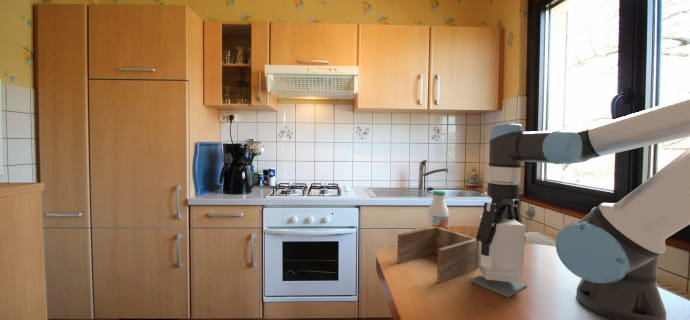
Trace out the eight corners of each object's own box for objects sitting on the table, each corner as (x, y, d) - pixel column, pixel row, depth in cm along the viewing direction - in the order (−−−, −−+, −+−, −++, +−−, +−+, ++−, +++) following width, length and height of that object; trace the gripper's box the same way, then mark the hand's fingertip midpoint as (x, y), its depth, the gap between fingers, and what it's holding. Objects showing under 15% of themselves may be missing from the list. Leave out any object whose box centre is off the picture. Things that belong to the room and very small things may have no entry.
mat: (526, 286, 77) (527, 284, 77) (508, 297, 71) (508, 295, 71) (490, 272, 85) (490, 270, 85) (470, 281, 80) (470, 279, 80)
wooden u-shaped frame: (477, 268, 88) (479, 239, 88) (440, 283, 78) (441, 250, 78) (433, 251, 102) (434, 226, 101) (397, 262, 92) (397, 234, 91)
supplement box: (523, 284, 73) (526, 225, 72) (485, 280, 75) (488, 223, 74) (510, 269, 82) (513, 217, 81) (476, 266, 84) (479, 214, 83)
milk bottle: (424, 242, 112) (425, 190, 111) (430, 237, 118) (432, 188, 117) (444, 246, 107) (446, 193, 106) (450, 241, 114) (452, 190, 113)
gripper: (511, 179, 87) (507, 249, 88) (463, 183, 73) (459, 266, 74) (539, 181, 81) (534, 257, 82) (493, 187, 67) (488, 278, 68)
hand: (499, 262), depth 78 cm, fingers closed on supplement box, 12 cm apart
